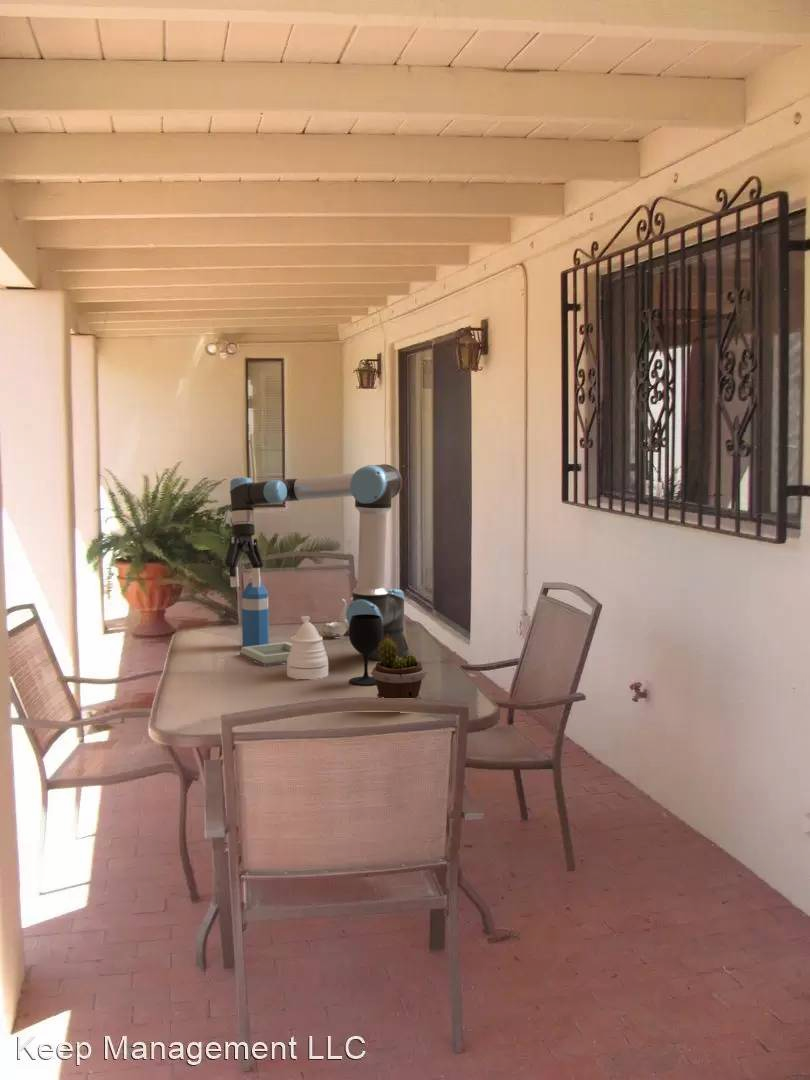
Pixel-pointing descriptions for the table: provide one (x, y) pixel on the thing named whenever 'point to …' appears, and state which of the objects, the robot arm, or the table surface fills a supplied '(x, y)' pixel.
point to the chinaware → (336, 627)
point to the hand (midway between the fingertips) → (245, 587)
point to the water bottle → (255, 615)
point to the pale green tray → (268, 653)
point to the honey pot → (307, 654)
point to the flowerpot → (397, 673)
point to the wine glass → (365, 642)
